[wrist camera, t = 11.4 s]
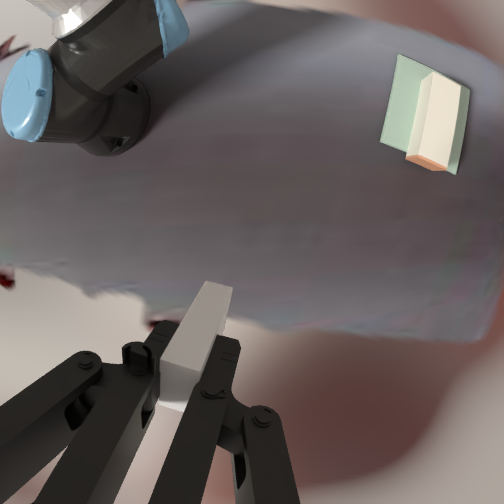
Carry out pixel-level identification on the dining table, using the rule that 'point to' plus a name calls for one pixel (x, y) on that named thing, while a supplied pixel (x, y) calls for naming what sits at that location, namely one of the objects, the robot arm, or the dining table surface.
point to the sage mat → (405, 108)
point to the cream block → (434, 122)
